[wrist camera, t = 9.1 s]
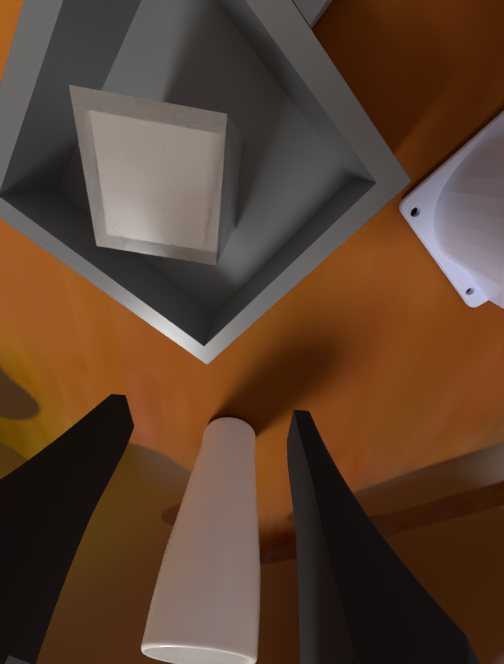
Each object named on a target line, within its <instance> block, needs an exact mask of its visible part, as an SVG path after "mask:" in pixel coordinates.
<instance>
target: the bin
mask: <svg viewBox="0 0 504 664" xmlns="http://www.w3.org/2000/svg"><path fill="white" fill-rule="evenodd" d="M69 85H73V86H78V87H84V88H89V89H95V90H100V91H106V92H111V93H116V94H122V95H127V96H133V97H138V98H144V99H149V100H155V101H160V102H165V103H171V104H176V105H182V106H187V107H193V108H198V109H204V110H209V111H215V112H220V113H225V114H228V116H229V117H230V118H231V120H232V121H233V122H234V124H235V125H236V126H237V127H238V129H239V130H240V131H241V133H242V134H243V135H244V137H245V140H244V150H243V159H242V168H241V177H240V187H239V196H238V205H237V215H236V224H235V230H234V232H233V234H232V236H231V237H230V239H229V241H228V243H227V245H226V247H225V249H224V251H223V253H222V254H221V256H220V258H219V260H218V262H217V264H216V265H211V264H205V263H199V262H193V261H187V260H181V259H174V258H168V257H162V256H156V255H150V254H144V253H137V252H131V251H125V250H119V249H113V248H107V247H100V246H96V240H95V234H94V228H93V223H92V217H91V211H90V205H89V199H88V193H87V188H86V182H85V176H84V170H83V164H82V159H81V153H80V147H79V141H78V135H77V129H76V124H75V118H74V112H73V106H72V100H71V95H70V89H69ZM410 182H412V181H411V180H410V178H409V177H408V175H407V174H406V172H405V171H404V169H403V168H402V166H401V165H400V163H399V162H398V160H397V159H396V157H395V156H394V154H393V153H392V151H391V150H390V148H389V147H388V145H387V144H386V142H385V141H384V139H383V138H382V136H381V135H380V133H379V132H378V130H377V129H376V127H375V126H374V124H373V123H372V121H371V120H370V118H369V117H368V115H367V114H366V112H365V110H364V109H363V107H362V106H361V104H360V103H359V101H358V100H357V98H356V97H355V95H354V94H353V92H352V91H351V89H350V88H349V86H348V85H347V83H346V82H345V80H344V79H343V77H342V76H341V74H340V73H339V71H338V70H337V68H336V67H335V65H334V64H333V62H332V61H331V59H330V58H329V56H328V55H327V53H326V52H325V50H324V49H323V47H322V46H321V44H320V43H319V41H318V40H317V38H316V37H315V35H314V34H313V32H312V31H311V29H310V27H309V26H308V24H307V23H306V21H305V20H304V18H303V17H302V15H301V14H300V12H299V11H298V9H297V8H296V6H295V5H294V3H293V2H292V0H24V2H23V5H22V9H21V12H20V16H19V20H18V23H17V27H16V31H15V34H14V38H13V41H12V45H11V49H10V52H9V56H8V60H7V63H6V67H5V70H4V74H3V78H2V81H1V85H0V219H2V220H3V221H5V222H6V223H7V224H9V225H10V226H12V227H13V228H15V229H16V230H17V231H19V232H20V233H22V234H23V235H24V236H26V237H27V238H29V239H30V240H32V241H33V242H34V243H36V244H37V245H39V246H40V247H41V248H43V249H44V250H46V251H47V252H49V253H50V254H51V255H53V256H54V257H56V258H57V259H58V260H60V261H61V262H63V263H64V264H66V265H67V266H68V267H70V268H71V269H73V270H74V271H75V272H77V273H78V274H80V275H81V276H83V277H84V278H85V279H87V280H88V281H90V282H91V283H92V284H94V285H95V286H97V287H98V288H100V289H101V290H102V291H104V292H105V293H107V294H108V295H109V296H111V297H112V298H114V299H115V300H117V301H118V302H119V303H121V304H122V305H124V306H125V307H126V308H128V309H129V310H131V311H132V312H133V313H135V314H136V315H138V316H139V317H141V318H142V319H143V320H145V321H146V322H148V323H149V324H150V325H152V326H153V327H155V328H156V329H158V330H159V331H160V332H162V333H163V334H165V335H166V336H167V337H169V338H170V339H172V340H173V341H175V342H176V343H177V344H179V345H180V346H182V347H183V348H184V349H186V350H187V351H189V352H190V353H192V354H193V355H194V356H196V357H197V358H199V359H200V360H201V361H203V362H204V363H206V364H208V363H209V362H210V361H211V360H213V359H214V358H215V357H216V356H217V355H218V354H219V353H220V352H222V351H223V350H224V349H225V348H226V347H227V346H228V345H229V344H230V343H232V342H233V341H234V340H235V339H236V338H237V337H238V336H239V335H241V334H242V333H243V332H244V331H245V330H246V329H247V328H248V327H249V326H251V325H252V324H253V323H254V322H255V321H256V320H257V319H258V318H260V317H261V316H262V315H263V314H264V313H265V312H266V311H267V310H268V309H270V308H271V307H272V306H273V305H274V304H275V303H276V302H277V301H279V300H280V299H281V298H282V297H283V296H284V295H285V294H286V293H287V292H289V291H290V290H291V289H292V288H293V287H294V286H295V285H296V284H298V283H299V282H300V281H301V280H302V279H303V278H304V277H305V276H306V275H308V274H309V273H310V272H311V271H312V270H313V269H314V268H315V267H317V266H318V265H319V264H320V263H321V262H322V261H323V260H324V259H325V258H327V257H328V256H329V255H330V254H331V253H332V252H333V251H334V250H336V249H337V248H338V247H339V246H340V245H341V244H342V243H343V242H345V241H346V240H347V239H348V238H349V237H350V236H351V235H352V234H353V233H355V232H356V231H357V230H358V229H359V228H360V227H361V226H362V225H364V224H365V223H366V222H367V221H368V220H369V219H370V218H371V217H372V216H374V215H375V214H376V213H377V212H378V211H379V210H380V209H381V208H383V207H384V206H385V205H386V204H387V203H388V202H389V201H390V200H391V199H393V198H394V197H395V196H396V195H397V194H398V193H399V192H400V191H402V190H403V189H404V188H405V187H406V186H407V185H408V184H409V183H410Z"/></svg>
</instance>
